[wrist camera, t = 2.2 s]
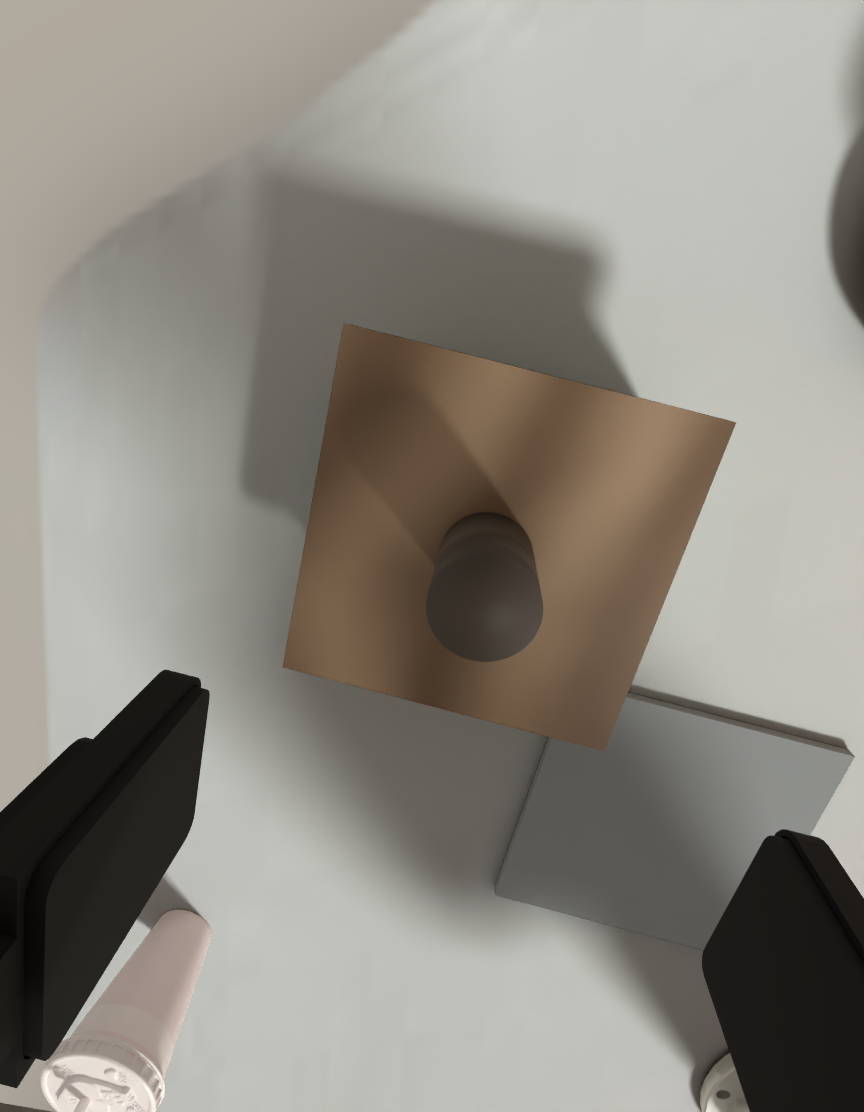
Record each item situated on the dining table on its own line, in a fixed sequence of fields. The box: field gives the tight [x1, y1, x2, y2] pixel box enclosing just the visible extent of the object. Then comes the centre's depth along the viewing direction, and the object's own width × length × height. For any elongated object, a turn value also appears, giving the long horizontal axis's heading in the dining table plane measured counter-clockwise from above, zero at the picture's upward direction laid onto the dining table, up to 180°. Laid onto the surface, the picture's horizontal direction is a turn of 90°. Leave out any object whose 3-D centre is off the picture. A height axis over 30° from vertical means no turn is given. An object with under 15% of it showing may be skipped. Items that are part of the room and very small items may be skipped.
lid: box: [283, 323, 736, 751], centre depth 22 cm, size 14×14×6 cm
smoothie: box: [40, 910, 212, 1112], centre depth 35 cm, size 6×6×14 cm
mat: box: [495, 692, 855, 950], centre depth 35 cm, size 15×15×1 cm
